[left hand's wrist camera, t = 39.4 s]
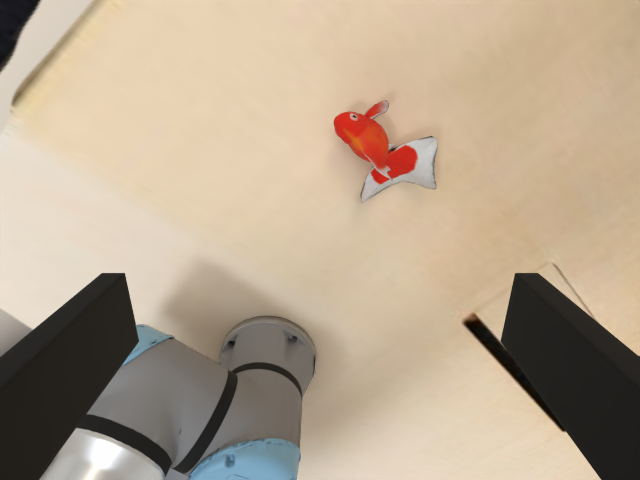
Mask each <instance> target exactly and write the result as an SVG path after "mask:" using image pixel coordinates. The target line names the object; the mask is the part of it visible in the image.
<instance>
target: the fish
mask: <svg viewBox="0 0 640 480" xmlns="http://www.w3.org/2000/svg"><path fill="white" fill-rule="evenodd" d="M388 107H389V103H388V101H381V102H380V103H378V104H375V105H374V106H372V107H371V108H370V109H369V110H368V111H367V112H366V113H365V115H362V114H358V113H355V112H344V113H341V114H339V115H338V116H337V117H336V118H335V119H334V126H335V132H336V134H337V135H338V136H339V137H340V138H341V139H342V140H343V141H344V142H345V143H347V144H349V146H350V147H351V149H352V150H353V151H354V153H356V154H357V155H358V156H359V157H361V158H362V159H364V160H366V161H368V162H371V163H372V164H373V167H372V169H371V171H370V172H369V174H368V176H367V178H366V181H365V183H364V186H363V189H362V192H361V201H362V203H363V202H365V201H366V200H368V199H370V198H371V197H373V196H374V195H376V194H377V193H379V192H380V191H382V190H384V189H386V188H388V187H389V186H391V185H394V184H396V183H399V182H402V181H403V182H410V183H415V184H418V185H421V186H423V187H426V188H429V189H436V182H435V178H434V162H435V156H436V152H437V140H436V138H434V137H432V136H430V137H426V138H422V139H419V140H415V141H412V142H409V143H406V144H404V145H401V146H399V147H396V148H393V149H391V148H392V147H393V146H395V145H394V144H389V143H388V138H387V135H386V133H385V131H384V129H383V128H382V127H381V126H380V125H379V124H378V123H377V122H376V121H374V120H373V118H375V117H376V116H377V115H379V114H382V113H385V112H386V111H387V109H388ZM390 149H391V150H390ZM389 150H390V151H389Z"/></svg>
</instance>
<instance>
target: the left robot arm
mask: <svg viewBox="0 0 640 480" xmlns="http://www.w3.org/2000/svg"><path fill="white" fill-rule="evenodd" d="M501 342H502V344H503V345H504V347H505V348H506V349H507V351H508V352H509V353H510V355H511V356H512V358H513V359H514V360H515V362H516V363H517V364H518V366H519V367H520V369H521V370H522V371H523V373H524V374H525V375H526V377H527V378H528V380H529V381H530V382H531V384H532V385H533V386H534V388H535V389H536V391H537V392H538V393H539V395H540V396H541V397H542V399H543V400H544V402H545V403H546V404H547V406H548V407H549V408H550V410H551V411H552V413H553V414H554V415H555V417H556V418H557V419H558V421H559V422H560V424H561V425H562V426H563V428H564V429H565V430H566V432H567V433H568V435H569V436H570V437H571V439H572V440H573V441H574V443H575V444H576V446H577V447H578V448H579V450H580V451H581V452H582V454H583V455H584V457H585V458H586V459H587V461H588V462H589V463H590V465H591V466H592V468H593V469H594V470H595V472H596V473H597V474H598V476H599V477H600V479H601V480H640V356H638V355H636V354H635V353H634V352H633V351H632V350H630V349H629V348H628V347H627V346H626V345H624V344H623V343H622V342H621V341H619V340H618V339H617V338H616V337H615V336H613V335H612V334H611V333H610V332H609V331H607V330H606V329H605V328H604V327H603V326H601V325H600V324H599V323H598V322H596V321H595V320H594V319H593V318H592V317H590V316H589V315H588V314H587V313H586V312H584V311H583V310H582V309H581V308H580V307H578V306H577V305H576V304H575V303H573V302H572V301H571V300H570V299H569V298H567V297H566V296H565V295H564V294H563V293H561V292H560V291H559V290H558V289H557V288H555V287H554V286H553V285H552V284H551V283H549V282H548V281H547V280H546V279H544V278H543V277H542V276H541V275H540V274H538V273H515V277H514V281H513V286H512V291H511V295H510V300H509V305H508V309H507V314H506V319H505V323H504V328H503V333H502V338H501ZM316 361H317V357H316V352H315V347H314V344H313V342H312V340H311V338H310V337H309V336H308V334H307V333H306V332H305V331H304V330H303V329H302V328H301V327H299V326H298V325H296V324H295V323H293V322H291V321H288V320H286V319H283V318H279V317H272V316H261V317H255V318H251V319H248V320H245V321H243V322H241V323H240V324H238V325H237V326H235V327H234V328H233V329H232V330H231V331H230V332H229V334H228V335H227V337H226V338H225V341H224V343H223V346H222V348H221V352H220V365H219V364H217V363H216V362H214V361H212V360H211V359H209V358H207V357H205V356H204V355H202V354H200V353H198V352H197V351H195V350H193V349H191V348H190V347H188V346H186V345H184V344H183V343H181V342H179V341H178V340H176V339H174V336H172V335H166V334H164V333H162V332H160V331H158V330H156V329H154V328H152V327H150V326H148V325H143V324H140V325H136V323H135V319H134V314H133V309H132V305H131V300H130V295H129V291H128V286H127V281H126V277H125V273H102V274H100V275H99V276H98V277H97V278H96V279H94V280H93V281H92V282H91V283H89V284H88V285H87V286H86V287H85V288H83V289H82V290H81V291H80V292H79V293H77V294H76V295H75V296H74V297H73V298H71V299H70V300H69V301H68V302H67V303H65V304H64V305H63V306H62V307H60V308H59V309H58V310H57V311H56V312H54V313H53V314H52V315H51V316H50V317H48V318H47V319H46V320H45V321H44V322H42V323H41V324H40V325H39V326H37V327H36V328H35V329H34V330H33V331H31V332H30V333H29V334H28V335H27V336H25V337H24V338H23V339H22V340H21V341H19V342H18V343H17V344H16V345H15V346H13V347H12V348H11V349H10V350H8V351H7V352H6V353H5V354H4V355H2V356H1V357H0V480H39V479H40V480H164V479H165V477H166V475H167V473H168V470H169V468H172V469H174V470H176V471H178V472H180V473H182V474H184V475H186V476H188V477H189V478H188V480H297V473H298V466H299V462H300V458H301V454H300V433H301V413H302V397H303V395H304V393H305V391H306V389H307V387H308V385H309V383H310V381H311V379H312V377H313V375H314V377H315V372H316ZM52 461H53V462H52ZM51 462H52V463H51ZM50 463H51V465H50ZM49 465H50V466H49ZM48 466H49V467H48ZM47 468H48V469H47ZM46 469H47V470H46ZM45 470H46V471H45ZM44 472H45V473H44ZM43 473H44V474H43ZM42 474H43V476H42ZM41 476H42V477H41ZM40 477H41V478H40Z"/></svg>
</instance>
